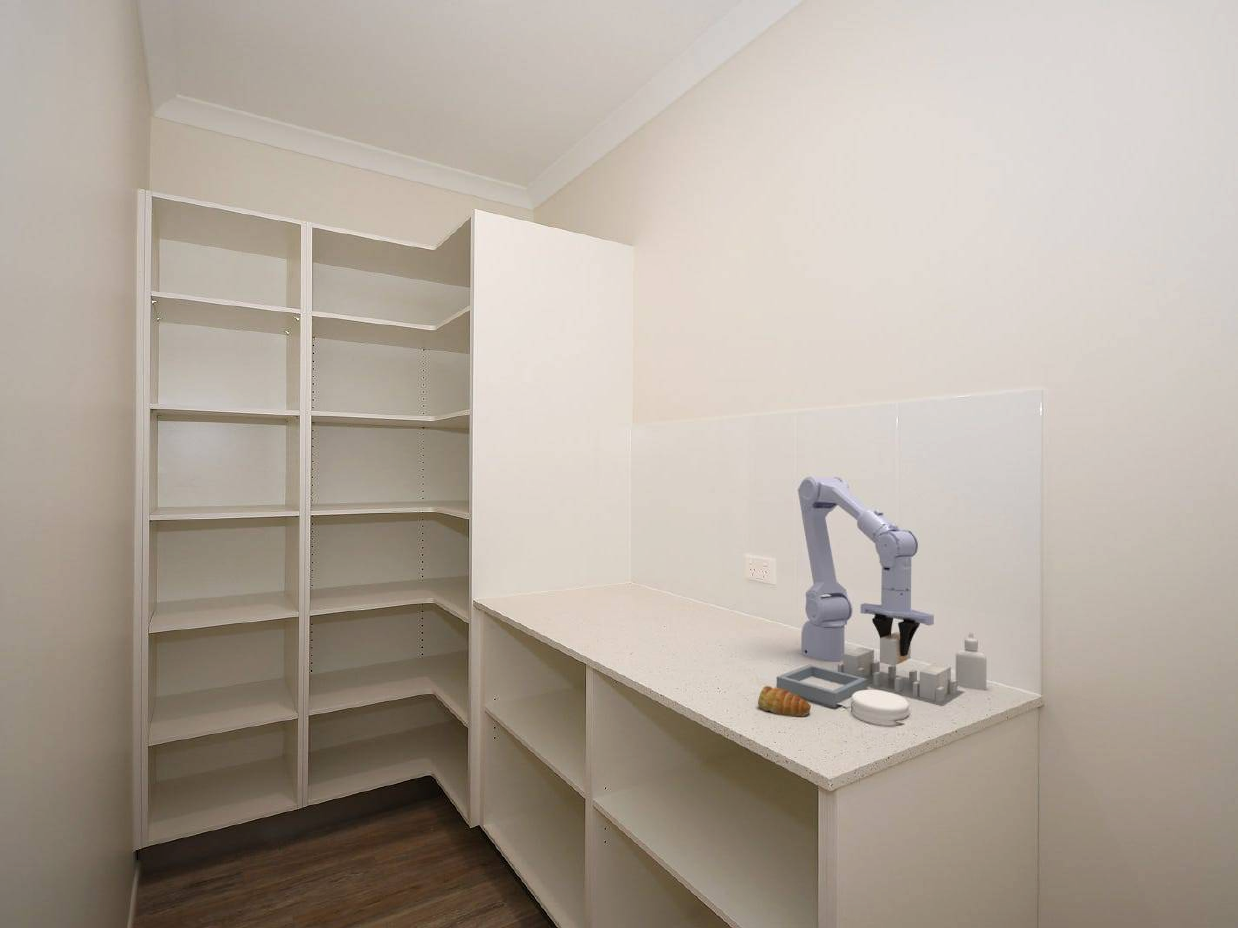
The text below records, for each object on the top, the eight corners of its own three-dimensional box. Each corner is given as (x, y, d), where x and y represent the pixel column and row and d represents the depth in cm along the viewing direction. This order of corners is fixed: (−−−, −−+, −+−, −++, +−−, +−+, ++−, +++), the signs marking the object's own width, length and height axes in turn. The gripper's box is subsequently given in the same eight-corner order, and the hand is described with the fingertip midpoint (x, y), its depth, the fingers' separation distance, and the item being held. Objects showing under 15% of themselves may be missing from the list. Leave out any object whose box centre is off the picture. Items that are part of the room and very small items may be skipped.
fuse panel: (830, 681, 137) (830, 664, 137) (856, 669, 145) (856, 654, 145) (942, 711, 120) (942, 692, 120) (964, 696, 129) (964, 679, 129)
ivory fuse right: (919, 696, 125) (919, 671, 125) (935, 687, 131) (935, 663, 131) (935, 700, 123) (935, 674, 123) (950, 691, 129) (950, 666, 129)
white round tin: (875, 703, 125) (876, 685, 125) (921, 721, 116) (921, 702, 116) (839, 712, 120) (839, 693, 120) (884, 731, 111) (884, 711, 111)
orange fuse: (879, 662, 131) (880, 638, 131) (896, 655, 137) (896, 631, 137) (894, 665, 129) (894, 641, 129) (910, 658, 135) (910, 634, 135)
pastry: (815, 711, 120) (815, 690, 120) (803, 722, 115) (803, 701, 115) (767, 700, 126) (768, 680, 126) (754, 710, 120) (754, 690, 120)
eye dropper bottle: (964, 684, 136) (964, 628, 136) (990, 693, 131) (990, 634, 131) (951, 688, 134) (952, 630, 134) (977, 696, 129) (977, 637, 129)
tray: (776, 691, 130) (776, 676, 130) (809, 677, 139) (809, 664, 139) (835, 709, 121) (835, 693, 121) (867, 693, 130) (867, 678, 130)
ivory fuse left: (843, 676, 137) (843, 653, 137) (860, 669, 143) (860, 646, 143) (856, 680, 135) (856, 656, 135) (873, 672, 140) (873, 649, 140)
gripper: (854, 585, 136) (853, 649, 136) (924, 595, 125) (923, 665, 125) (869, 581, 140) (868, 643, 140) (938, 591, 130) (937, 658, 130)
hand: (895, 653), depth 133 cm, fingers closed on orange fuse, 3 cm apart
